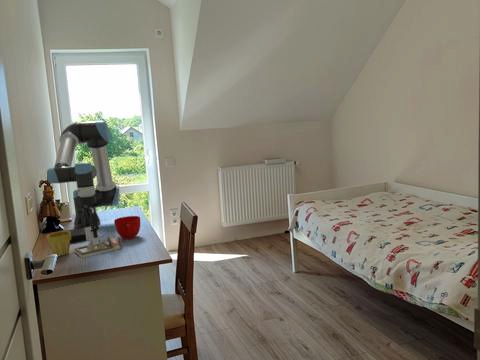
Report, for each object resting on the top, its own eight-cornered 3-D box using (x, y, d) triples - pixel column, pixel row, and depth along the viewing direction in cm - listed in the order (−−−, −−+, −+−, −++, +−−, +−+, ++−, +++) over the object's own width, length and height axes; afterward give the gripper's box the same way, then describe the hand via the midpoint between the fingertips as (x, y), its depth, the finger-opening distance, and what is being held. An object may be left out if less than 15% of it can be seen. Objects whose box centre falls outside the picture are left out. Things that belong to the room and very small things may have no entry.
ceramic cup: (116, 244, 219) (114, 224, 217) (116, 236, 235) (114, 218, 234) (143, 240, 222) (141, 221, 221) (141, 233, 238) (139, 214, 237)
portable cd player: (53, 239, 241) (52, 232, 240) (86, 234, 247) (85, 227, 246) (51, 247, 225) (50, 239, 225) (87, 241, 231) (86, 233, 231)
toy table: (95, 245, 217) (94, 233, 216) (110, 245, 214) (109, 233, 213) (81, 251, 208) (80, 239, 207) (97, 251, 205) (96, 239, 204)
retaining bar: (107, 240, 215) (106, 236, 215) (114, 239, 217) (113, 235, 216) (112, 247, 202) (111, 243, 202) (119, 246, 204) (119, 242, 203)
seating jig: (74, 251, 211) (72, 240, 211) (113, 243, 222) (112, 232, 221) (81, 257, 201) (80, 245, 200) (122, 248, 211) (121, 236, 211)
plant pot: (49, 259, 203) (46, 238, 201) (49, 253, 212) (46, 233, 211) (73, 254, 207) (71, 234, 205) (72, 249, 216) (69, 229, 215)
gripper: (72, 194, 213) (78, 239, 217) (85, 199, 195) (91, 248, 198) (88, 192, 218) (93, 236, 221) (102, 196, 199) (108, 244, 202)
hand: (92, 242), depth 209 cm, fingers open, 9 cm apart
